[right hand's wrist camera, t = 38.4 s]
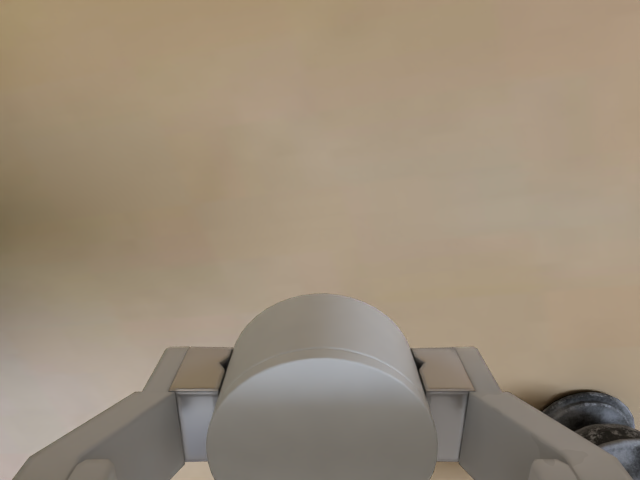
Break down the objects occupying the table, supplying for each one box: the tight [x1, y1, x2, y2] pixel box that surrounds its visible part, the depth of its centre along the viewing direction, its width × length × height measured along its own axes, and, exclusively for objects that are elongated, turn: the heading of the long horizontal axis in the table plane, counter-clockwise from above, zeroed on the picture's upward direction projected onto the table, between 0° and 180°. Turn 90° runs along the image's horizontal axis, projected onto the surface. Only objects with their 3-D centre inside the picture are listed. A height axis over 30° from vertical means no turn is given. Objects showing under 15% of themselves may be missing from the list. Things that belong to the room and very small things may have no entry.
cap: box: [206, 294, 438, 480], centre depth 9 cm, size 4×4×2 cm
